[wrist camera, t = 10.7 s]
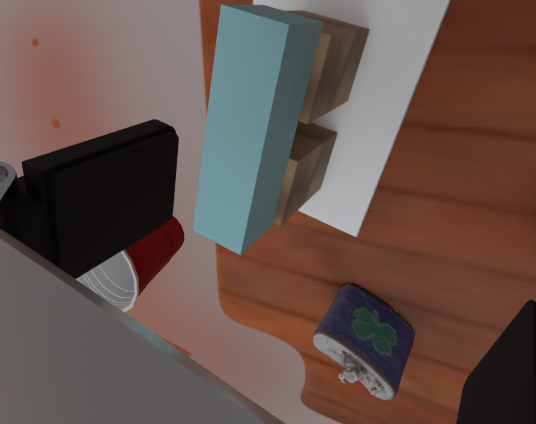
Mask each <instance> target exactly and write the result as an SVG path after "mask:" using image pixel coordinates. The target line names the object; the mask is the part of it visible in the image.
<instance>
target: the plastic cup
mask: <svg viewBox="0 0 536 424" xmlns="http://www.w3.org/2000/svg"><path fill="white" fill-rule="evenodd" d="M183 242H184V231H183V229H182V226H181V224H180V223H179V222H178V220H177V219H176V218H175V217H174V216H172V217H171V219H170V220H169V221H168V222H167V223H166V224H165V225H163V226H161V227H160V228H158V229H157V230H155V231H153V232H152V233H150V234H149V235H147V236H145V237H144V238H142V239H140V240H139V241H137V242H136V243H134V244H132V245H131V246H129V247H127V248H126V249H124V250H123V251H121V252H119V253H118V254H116V255H115V256H113V257H111V258H110V259H108V260H106V261H105V262H103V263H102V264H100V265H98V266H97V267H95V268H93V269H92V270H90V271H89V272H87V273H85V274H84V275H82V276H81V277H79V278H77V279H76V280H77V281H79V282H80V283H82V284H83V285H85V286H86V287H88V288H89V289H91V290H92V291H94V292H95V293H97V294H98V295H99V296H101V297H102V298H104V299H105V300H107V301H108V302H110V303H111V304H113V305H114V306H116V307H117V308H118V309H120V310H121V311H123V312H126V311H127V310H129V309H130V308H132V307H133V306H134V304H135V302H136V300H137V297H138V296H139V295H140V294H141V292H142V291H143V290H144V289H145V288H146V286H147V285H148V283H149V282H150V281H151V280H152V279H153V278H154V277H155V276H156V275H157V274H158V273H159V272H160V270H161V269H162V268H163V267H164V266H165V265H166V264H167V263H168V262H169V261H170V259H171V258H172V257H173V255H174V254H175V253H176V252H177V251H178V250H179V249H180V247H181V246H182V244H183Z"/></svg>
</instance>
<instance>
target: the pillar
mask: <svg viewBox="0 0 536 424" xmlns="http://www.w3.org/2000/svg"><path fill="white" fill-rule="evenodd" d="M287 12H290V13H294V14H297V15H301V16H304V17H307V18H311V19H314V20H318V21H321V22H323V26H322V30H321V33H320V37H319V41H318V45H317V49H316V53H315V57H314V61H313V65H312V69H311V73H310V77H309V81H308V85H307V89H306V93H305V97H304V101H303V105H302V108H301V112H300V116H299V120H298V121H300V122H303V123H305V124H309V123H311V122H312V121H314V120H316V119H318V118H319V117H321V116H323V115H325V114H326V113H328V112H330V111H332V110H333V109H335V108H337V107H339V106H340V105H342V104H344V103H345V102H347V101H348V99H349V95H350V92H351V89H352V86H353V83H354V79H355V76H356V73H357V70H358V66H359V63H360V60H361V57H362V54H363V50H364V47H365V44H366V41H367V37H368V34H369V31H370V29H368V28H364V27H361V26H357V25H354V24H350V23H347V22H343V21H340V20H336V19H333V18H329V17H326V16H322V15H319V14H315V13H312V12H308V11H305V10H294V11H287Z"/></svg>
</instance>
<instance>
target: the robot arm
mask: <svg viewBox="0 0 536 424" xmlns="http://www.w3.org/2000/svg"><path fill="white" fill-rule="evenodd" d="M178 143H179V138H178V136H177V134H176V131H175V129H174V128H173V127H172V126H170V125H168V124H165V123H163V122H161V121H159V120H156V119H155V120H150V121H147V122H144V123H141V124H137V125H135V126H131V127H128V128H125V129H122V130H119V131H116V132H113V133H110V134H106V135H103V136H100V137H97V138H94V139H91V140H88V141H85V142H81V143H79V144H75V145H72V146H69V147H66V148H63V149H60V150H57V151H53V152H50V153H47V154H44V155H41V156H38V157H35V158H32V159H29V160H25V161H23V162H22V167H23V173H24V176H22V177H19V178H17V174H16V171H15V169H14V168H13V167H12V166H11V165H9V164H7V163H4V162H1V161H0V424H285V423H283V422H282V421H281V420H279V419H278V418H276V417H275V416H273V415H272V414H270V413H269V412H268V411H266V410H264V409H263V408H262V407H260V406H259V405H257V404H256V403H255V402H253V401H252V400H250V399H249V398H247V397H246V396H244V395H243V394H242V393H240V392H239V391H237V390H236V389H234V388H233V387H232V386H230V385H229V384H227V383H226V382H224V381H223V380H221V379H220V378H219V377H217V376H216V375H214V374H213V373H211V372H210V371H209V370H207V369H205V368H204V367H203V366H201V365H200V364H198V363H197V362H196V361H194V360H192V359H191V358H190V357H188V356H187V355H185V354H184V353H182V352H181V351H180V350H178V349H177V348H175V347H174V346H172V345H171V344H169V343H168V342H166V341H165V340H164V339H162V338H161V337H159V336H158V335H156V334H155V333H153V332H152V331H151V330H149V329H148V328H146V327H145V326H143V325H142V324H140V323H139V322H137V321H136V320H134V319H133V318H131V317H130V316H129V315H127V314H126V313H124V312H123V311H121V310H120V309H118V308H117V307H116V306H114V305H113V304H111V303H110V302H108V301H107V300H105V299H104V298H102V297H101V296H99V295H98V294H97V293H95V292H94V291H92V290H91V289H89V288H88V287H86V286H85V285H83V284H82V283H80V282H79V281H77V280H76V279H77V278H79V277H81V276H82V275H84V274H85V273H87V272H89V271H90V270H92V269H93V268H95V267H97V266H98V265H100V264H102V263H103V262H105V261H106V260H108V259H110V258H111V257H113V256H115V255H116V254H118V253H119V252H121V251H123V250H124V249H126V248H127V247H129V246H131V245H132V244H134V243H136V242H137V241H139V240H140V239H142V238H144V237H145V236H147V235H149V234H150V233H152V232H153V231H155V230H157V229H158V228H160V227H161V226H163V225H165V224H166V223H167V222H168V221H169V220H170V219H171V217H172V214H173V204H174V193H175V180H176V167H177V154H178ZM456 424H536V302H535V301H533V300H529V301H528V302H527V303H526V304H525V305H524V306H523V308H522V309H521V310H520V311H519V313H518V314H517V315H516V317H515V318H514V319H513V320H512V322H511V323H510V324H509V325H508V327H507V328H506V329H505V330H504V332H503V333H502V334H501V336H500V337H499V338H498V339H497V341H496V342H495V343H494V344H493V346H492V347H491V348H490V349H489V351H488V352H487V353H486V355H485V356H484V357H483V358H482V360H481V361H480V362H479V363H478V365H477V366H476V367H475V369H474V370H473V371H472V372H471V374H470V375H469V376H468V378H467V380H466V382H465V384H464V387H463V390H462V395H461V401H460V406H459V412H458V418H457V423H456Z"/></svg>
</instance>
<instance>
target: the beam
mask: <svg viewBox="0 0 536 424" xmlns="http://www.w3.org/2000/svg"><path fill="white" fill-rule="evenodd" d="M322 26H323V22H321V21H318V20H314V19H311V18H307V17H304V16H301V15H297V14H294V13H290V12H287V11H284V10H280V9H277V8H273V7H270V6H266V5H249V4H221V9H220V17H219V25H218V33H217V41H216V49H215V57H214V65H213V73H212V81H211V89H210V96H209V104H208V112H207V120H206V128H205V137H204V144H203V153H202V160H201V169H200V176H199V184H198V192H197V200H196V209H195V217H194V224H193V231H195V232H197V233H199V234H201V235H203V236H205V237H207V238H209V239H211V240H212V241H214V242H216V243H218V244H220V245H222V246H224V247H226V248H228V249H230V250H231V251H233V252H235V253H237V254H239V255H241V254H242V253H243V252H244V251H245V250H246V249H248V248H249V247H250V246H251V245H252V244H253V243H254V242H255V241H256V240H257V239H258V238H260V237H261V236H262V235H263V234H264V233H265V232H266V231H267V230H268V229H269V228H271V227H272V223H273V219H274V215H275V211H276V207H277V203H278V199H279V195H280V191H281V187H282V183H283V179H284V176H285V172H286V168H287V164H288V160H289V156H290V152H291V148H292V144H293V140H294V136H295V132H296V128H297V124H298V120H299V116H300V112H301V108H302V105H303V101H304V97H305V93H306V89H307V85H308V81H309V77H310V73H311V69H312V65H313V61H314V57H315V53H316V49H317V45H318V41H319V37H320V33H321V30H322Z"/></svg>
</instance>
